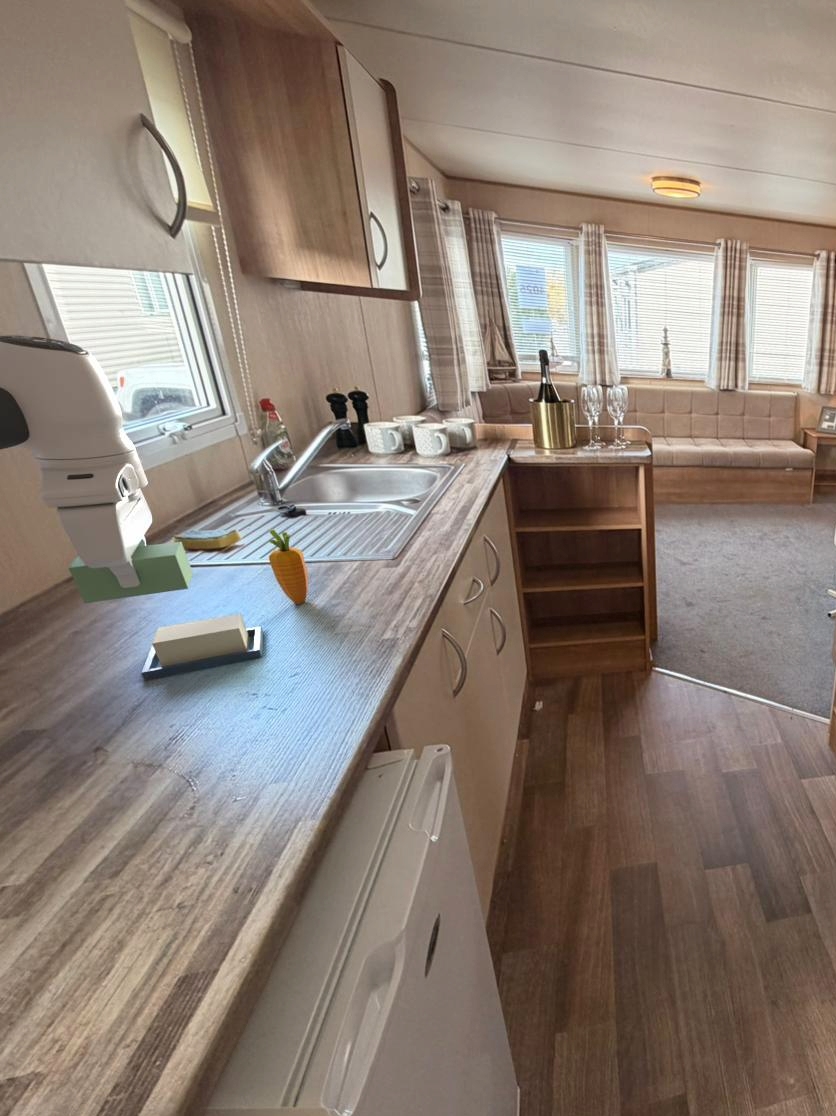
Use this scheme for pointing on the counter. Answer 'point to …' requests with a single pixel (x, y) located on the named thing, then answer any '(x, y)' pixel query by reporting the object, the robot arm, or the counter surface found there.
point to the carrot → (289, 568)
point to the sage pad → (154, 565)
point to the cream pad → (200, 639)
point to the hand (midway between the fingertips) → (137, 576)
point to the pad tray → (152, 659)
